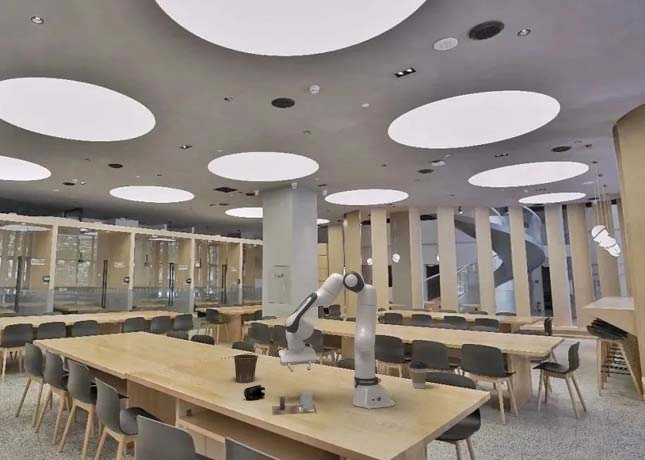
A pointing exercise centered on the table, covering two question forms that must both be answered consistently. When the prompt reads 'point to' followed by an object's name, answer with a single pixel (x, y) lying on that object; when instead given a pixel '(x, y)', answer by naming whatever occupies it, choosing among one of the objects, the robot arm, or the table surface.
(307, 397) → the tall grey pillar
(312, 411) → the walnut board
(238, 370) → the plant pot
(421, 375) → the coffee cup
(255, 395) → the end cap
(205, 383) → the table surface
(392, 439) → the table surface
